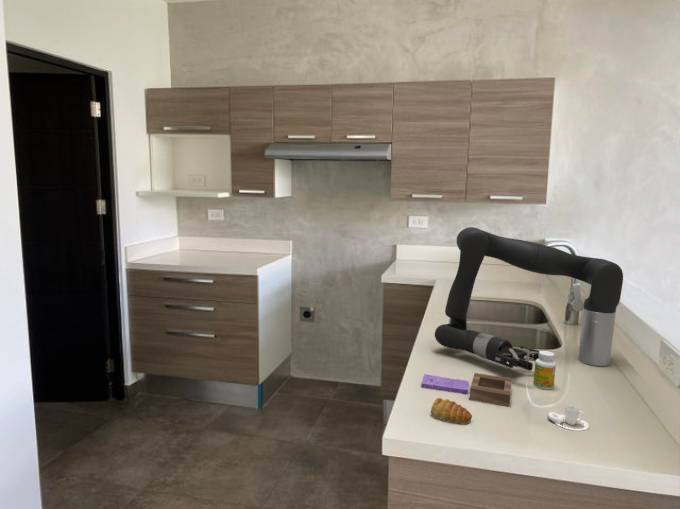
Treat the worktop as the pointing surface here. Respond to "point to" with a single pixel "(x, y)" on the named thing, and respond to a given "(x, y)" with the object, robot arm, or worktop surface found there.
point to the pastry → (450, 411)
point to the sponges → (445, 384)
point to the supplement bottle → (544, 370)
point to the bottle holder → (491, 389)
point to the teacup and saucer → (568, 418)
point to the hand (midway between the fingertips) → (540, 364)
